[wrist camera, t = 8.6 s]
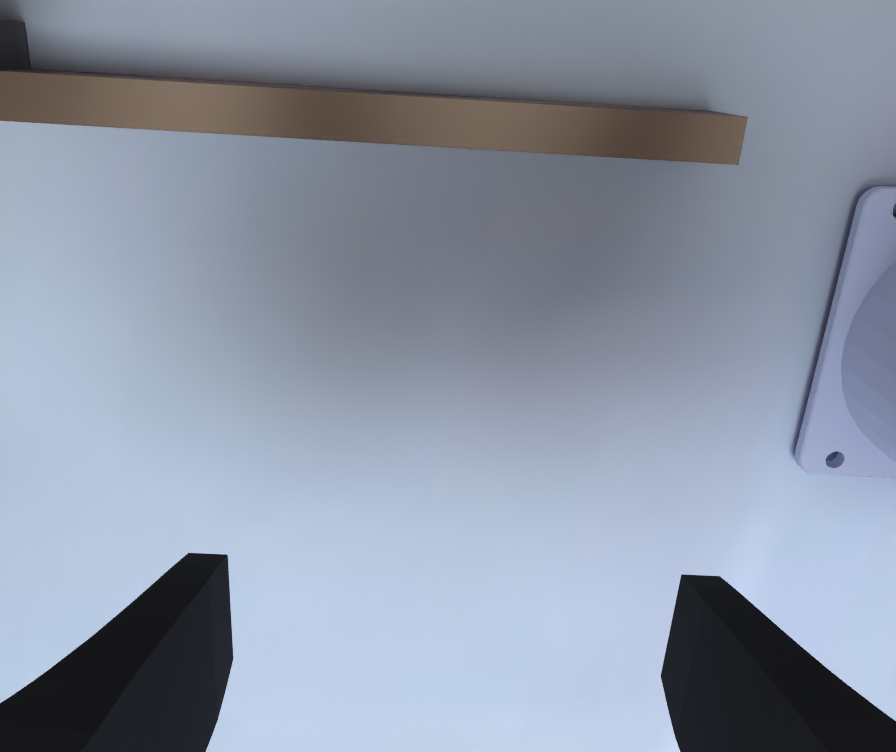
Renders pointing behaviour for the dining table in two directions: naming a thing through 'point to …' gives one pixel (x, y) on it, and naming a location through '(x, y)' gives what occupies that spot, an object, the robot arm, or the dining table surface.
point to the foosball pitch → (358, 114)
